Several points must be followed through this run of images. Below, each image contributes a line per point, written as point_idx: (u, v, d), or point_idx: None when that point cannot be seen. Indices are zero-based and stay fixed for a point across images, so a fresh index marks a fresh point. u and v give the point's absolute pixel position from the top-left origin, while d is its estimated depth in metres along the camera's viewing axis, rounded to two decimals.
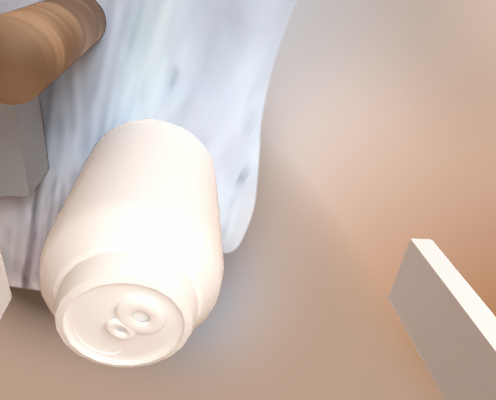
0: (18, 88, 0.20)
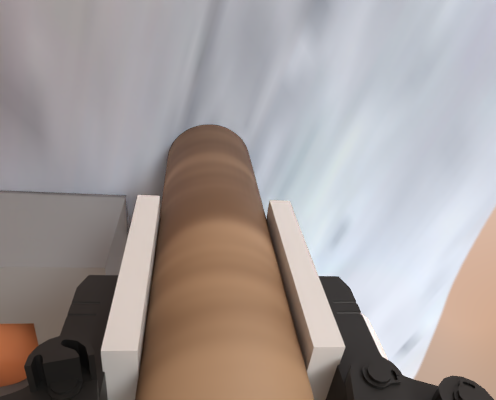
0: None
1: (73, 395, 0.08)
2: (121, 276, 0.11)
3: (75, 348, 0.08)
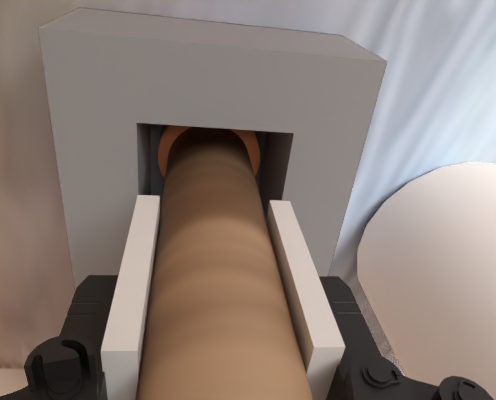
0: None
1: (73, 395, 0.08)
2: (121, 276, 0.11)
3: (75, 348, 0.08)
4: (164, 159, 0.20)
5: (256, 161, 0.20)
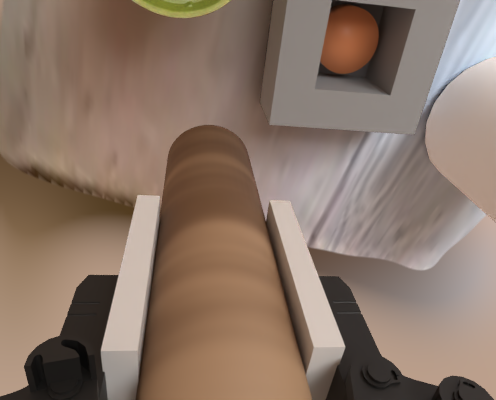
0: None
1: (73, 395, 0.08)
2: (121, 276, 0.11)
3: (75, 348, 0.08)
4: None
5: (375, 44, 0.32)
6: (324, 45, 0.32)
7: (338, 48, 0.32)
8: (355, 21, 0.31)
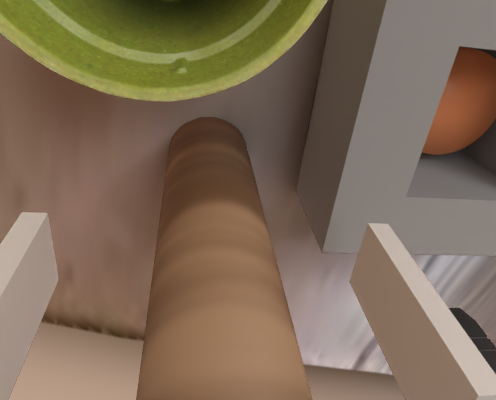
0: None
1: None
2: None
3: None
4: None
5: None
6: None
7: (435, 116, 0.19)
8: (469, 73, 0.18)
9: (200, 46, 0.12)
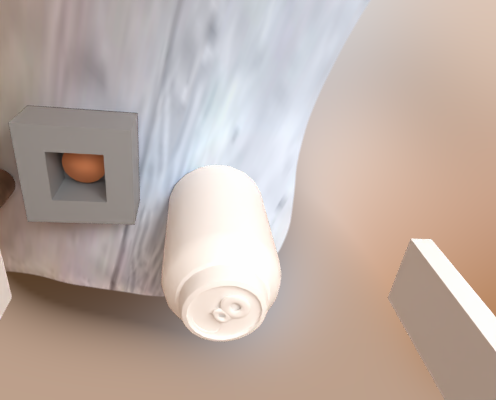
0: None
1: None
2: None
3: None
4: (64, 164, 0.48)
5: None
6: (68, 166, 0.48)
7: (79, 168, 0.48)
8: None
9: None
